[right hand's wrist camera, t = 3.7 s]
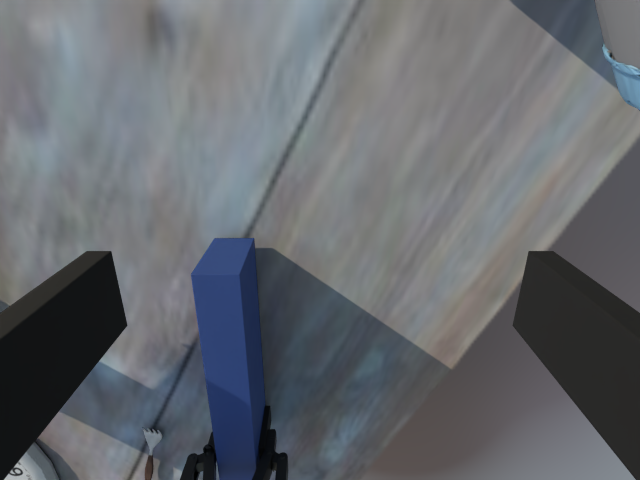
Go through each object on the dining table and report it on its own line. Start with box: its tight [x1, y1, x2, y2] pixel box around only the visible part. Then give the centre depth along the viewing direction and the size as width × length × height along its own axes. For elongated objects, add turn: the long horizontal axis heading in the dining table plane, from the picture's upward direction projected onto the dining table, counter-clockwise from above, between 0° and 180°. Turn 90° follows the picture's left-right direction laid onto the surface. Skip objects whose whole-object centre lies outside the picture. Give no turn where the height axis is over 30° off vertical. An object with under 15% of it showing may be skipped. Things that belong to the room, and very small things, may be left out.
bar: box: [191, 238, 266, 480], centre depth 46 cm, size 30×5×9 cm, turn 0°
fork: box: [142, 427, 162, 480], centre depth 58 cm, size 3×16×2 cm, turn 166°
